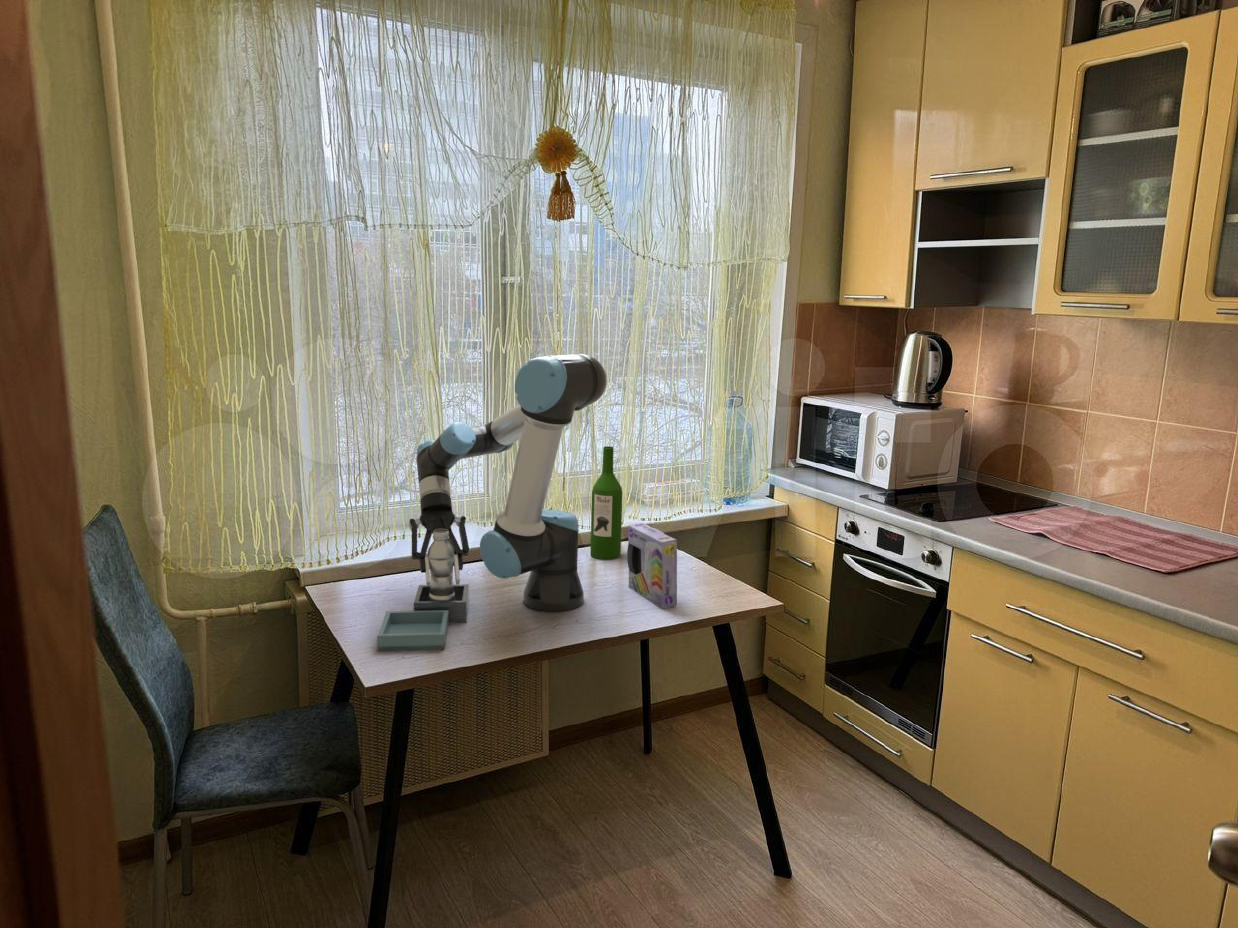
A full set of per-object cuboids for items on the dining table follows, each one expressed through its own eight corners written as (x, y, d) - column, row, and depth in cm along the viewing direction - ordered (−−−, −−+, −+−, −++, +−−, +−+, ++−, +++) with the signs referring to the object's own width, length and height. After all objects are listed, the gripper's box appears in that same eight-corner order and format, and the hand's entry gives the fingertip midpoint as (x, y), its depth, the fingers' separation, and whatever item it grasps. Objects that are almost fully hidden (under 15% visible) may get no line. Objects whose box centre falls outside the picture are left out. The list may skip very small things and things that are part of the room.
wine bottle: (587, 558, 251) (590, 449, 244) (593, 549, 260) (596, 443, 253) (617, 561, 250) (621, 450, 243) (622, 552, 258) (626, 445, 251)
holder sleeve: (468, 603, 214) (468, 584, 213) (466, 622, 202) (466, 602, 201) (419, 604, 212) (419, 585, 211) (414, 623, 201) (413, 603, 200)
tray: (448, 624, 201) (448, 610, 200) (444, 649, 187) (444, 634, 187) (387, 625, 199) (386, 611, 198) (377, 651, 186) (377, 635, 185)
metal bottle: (432, 618, 203) (431, 536, 199) (425, 608, 209) (423, 528, 205) (459, 613, 206) (458, 533, 202) (451, 604, 212) (450, 525, 208)
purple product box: (624, 585, 230) (626, 521, 226) (641, 583, 232) (643, 520, 228) (660, 610, 213) (663, 542, 209) (677, 607, 215) (680, 539, 212)
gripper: (472, 504, 220) (482, 586, 208) (395, 508, 214) (401, 593, 202) (475, 488, 214) (485, 572, 202) (396, 492, 208) (401, 578, 196)
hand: (443, 582), depth 202 cm, fingers closed on metal bottle, 6 cm apart
